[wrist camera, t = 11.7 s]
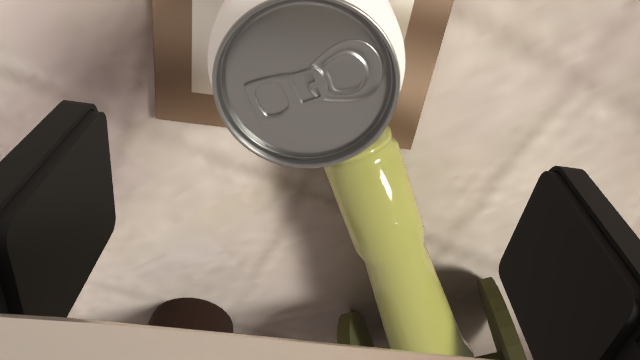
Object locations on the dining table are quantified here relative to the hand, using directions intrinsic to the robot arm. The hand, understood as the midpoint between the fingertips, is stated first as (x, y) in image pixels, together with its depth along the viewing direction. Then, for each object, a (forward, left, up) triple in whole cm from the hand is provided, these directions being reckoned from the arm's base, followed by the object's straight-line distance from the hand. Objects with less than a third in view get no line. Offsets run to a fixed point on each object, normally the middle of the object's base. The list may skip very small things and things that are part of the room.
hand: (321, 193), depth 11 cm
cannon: (-18, -9, -18) cm, 26 cm away
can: (0, 0, -17) cm, 17 cm away
